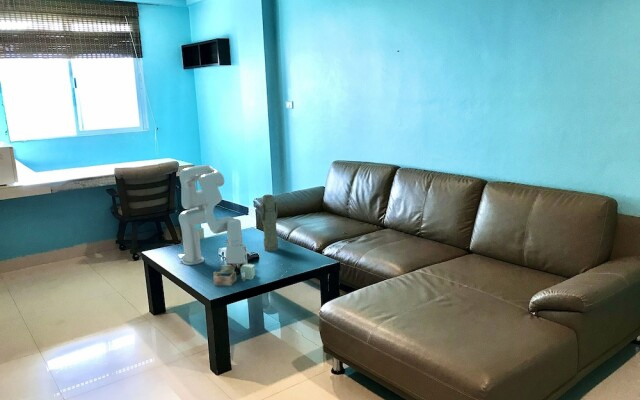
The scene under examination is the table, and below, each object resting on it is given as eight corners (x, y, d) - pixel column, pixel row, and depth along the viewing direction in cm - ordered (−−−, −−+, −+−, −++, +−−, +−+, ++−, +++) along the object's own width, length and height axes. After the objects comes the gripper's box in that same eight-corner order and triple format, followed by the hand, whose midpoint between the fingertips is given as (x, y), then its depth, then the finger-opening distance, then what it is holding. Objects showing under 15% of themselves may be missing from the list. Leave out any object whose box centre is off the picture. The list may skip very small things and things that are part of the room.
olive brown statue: (283, 248, 314) (279, 194, 306) (269, 253, 305) (265, 197, 298) (273, 245, 320) (269, 192, 312) (259, 250, 311) (255, 196, 303)
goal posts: (241, 281, 261) (240, 272, 260) (249, 272, 274) (248, 263, 273) (245, 281, 261) (244, 273, 260) (252, 272, 274) (252, 263, 273)
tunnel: (209, 285, 258) (209, 277, 257) (221, 272, 276) (221, 264, 275) (231, 285, 256) (231, 277, 255) (242, 272, 274) (241, 265, 273)
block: (241, 279, 265) (240, 268, 264) (244, 274, 271) (243, 264, 269) (252, 279, 264) (251, 268, 263) (255, 275, 270) (254, 264, 268)
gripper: (219, 244, 262) (222, 276, 266) (246, 244, 259) (249, 277, 263) (224, 240, 269) (227, 271, 273) (250, 240, 266) (253, 272, 270)
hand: (237, 274), depth 268 cm, fingers closed
